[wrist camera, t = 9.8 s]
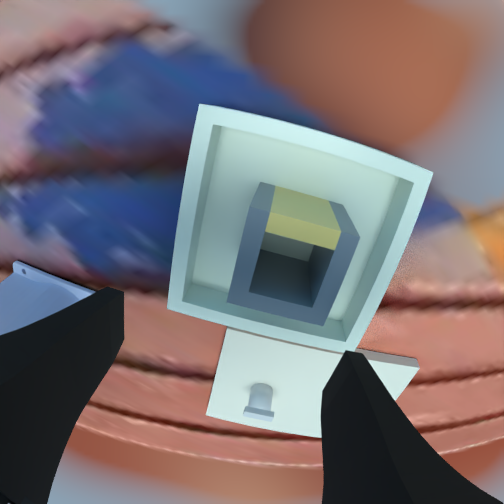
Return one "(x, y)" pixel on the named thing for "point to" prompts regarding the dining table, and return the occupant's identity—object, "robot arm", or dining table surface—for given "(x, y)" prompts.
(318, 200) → the collar
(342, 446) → the robot arm
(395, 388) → the base
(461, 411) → the dining table surface
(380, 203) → the tray
